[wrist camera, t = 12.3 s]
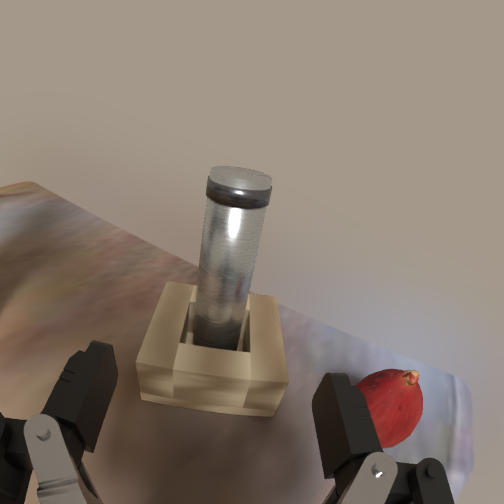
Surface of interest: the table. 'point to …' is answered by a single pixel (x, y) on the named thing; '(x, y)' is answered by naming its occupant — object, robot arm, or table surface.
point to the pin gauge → (228, 253)
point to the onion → (393, 403)
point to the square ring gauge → (213, 359)
